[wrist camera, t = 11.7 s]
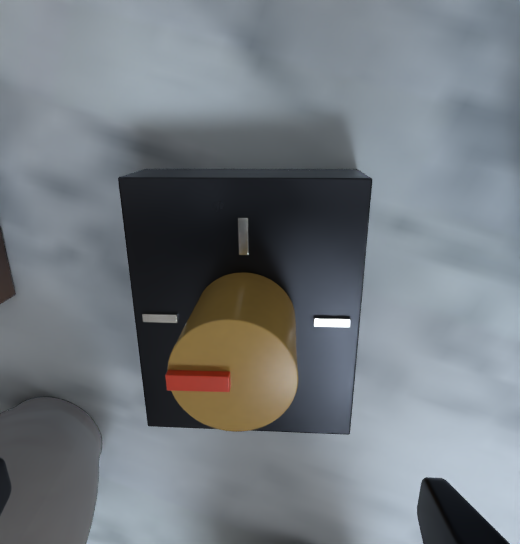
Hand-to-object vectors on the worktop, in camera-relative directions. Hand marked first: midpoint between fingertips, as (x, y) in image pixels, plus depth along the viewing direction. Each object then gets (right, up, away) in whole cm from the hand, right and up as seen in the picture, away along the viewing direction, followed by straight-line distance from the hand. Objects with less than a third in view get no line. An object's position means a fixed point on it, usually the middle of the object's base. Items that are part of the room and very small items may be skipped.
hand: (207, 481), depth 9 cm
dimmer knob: (0, +3, +7) cm, 8 cm away
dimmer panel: (+1, +4, +10) cm, 11 cm away
